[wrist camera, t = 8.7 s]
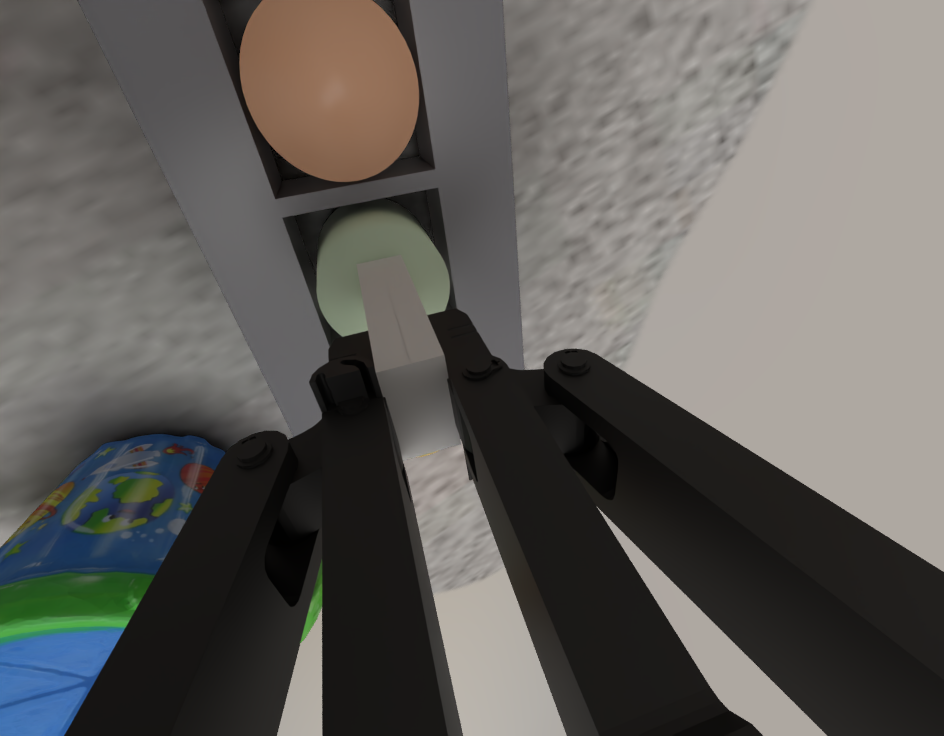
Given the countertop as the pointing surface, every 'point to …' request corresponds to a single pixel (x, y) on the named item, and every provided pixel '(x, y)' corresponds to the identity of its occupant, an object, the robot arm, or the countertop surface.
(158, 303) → the countertop surface
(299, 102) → the button terracotta
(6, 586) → the snack cup
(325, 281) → the button sage
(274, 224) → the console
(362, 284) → the robot arm
